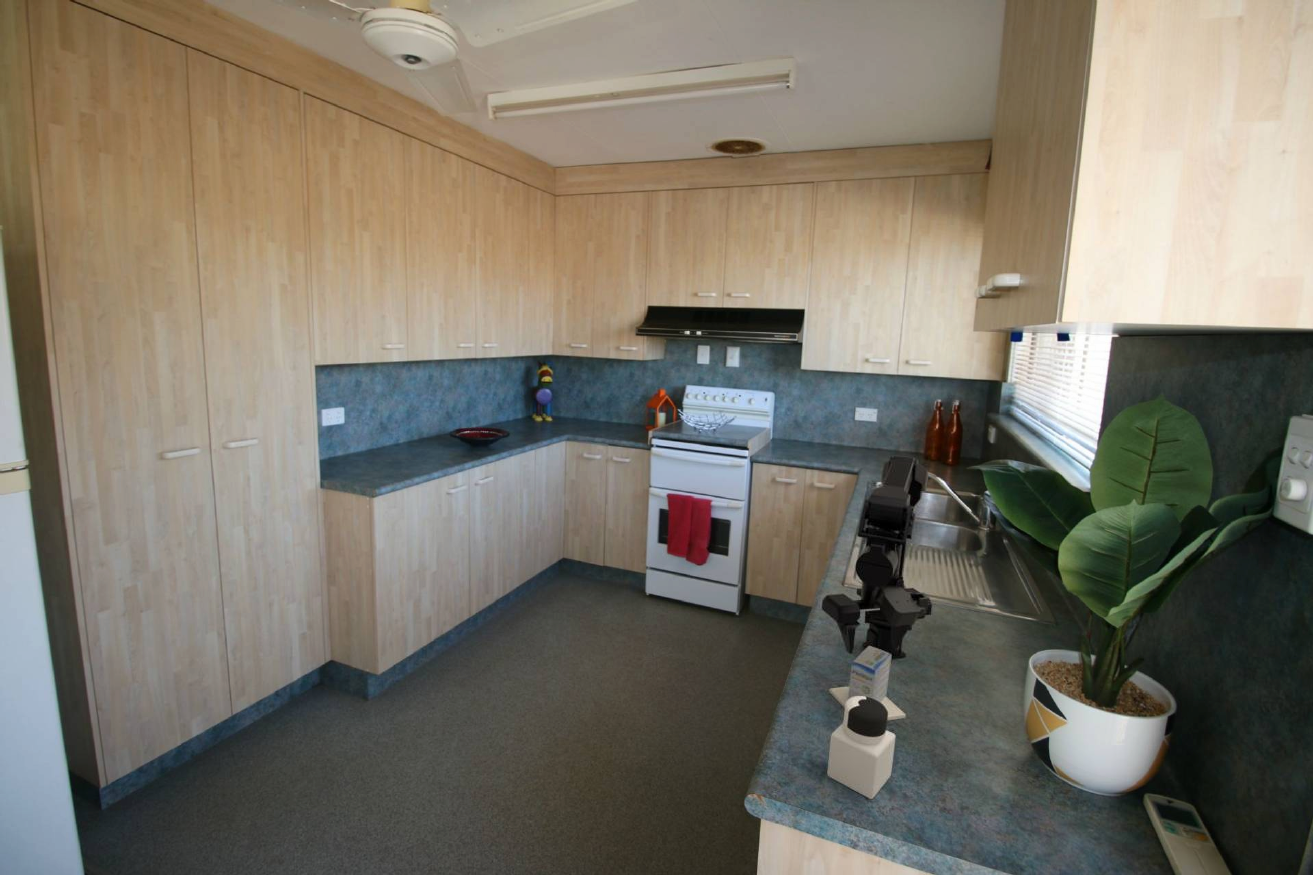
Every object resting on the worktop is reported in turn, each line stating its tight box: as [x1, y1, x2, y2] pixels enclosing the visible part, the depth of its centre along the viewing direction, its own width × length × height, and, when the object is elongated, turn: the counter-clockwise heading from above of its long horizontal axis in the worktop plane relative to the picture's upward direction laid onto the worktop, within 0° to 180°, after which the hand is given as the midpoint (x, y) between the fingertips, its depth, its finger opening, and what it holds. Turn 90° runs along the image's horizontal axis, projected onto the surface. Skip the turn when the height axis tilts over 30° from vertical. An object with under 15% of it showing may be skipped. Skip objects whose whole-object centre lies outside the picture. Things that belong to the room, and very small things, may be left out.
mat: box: [829, 685, 907, 722], centre depth 114 cm, size 9×10×1 cm
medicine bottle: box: [826, 696, 896, 800], centre depth 94 cm, size 7×7×12 cm
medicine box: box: [848, 646, 892, 702], centre depth 113 cm, size 8×4×9 cm, turn 141°
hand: (872, 650), depth 112 cm, fingers open, 9 cm apart
